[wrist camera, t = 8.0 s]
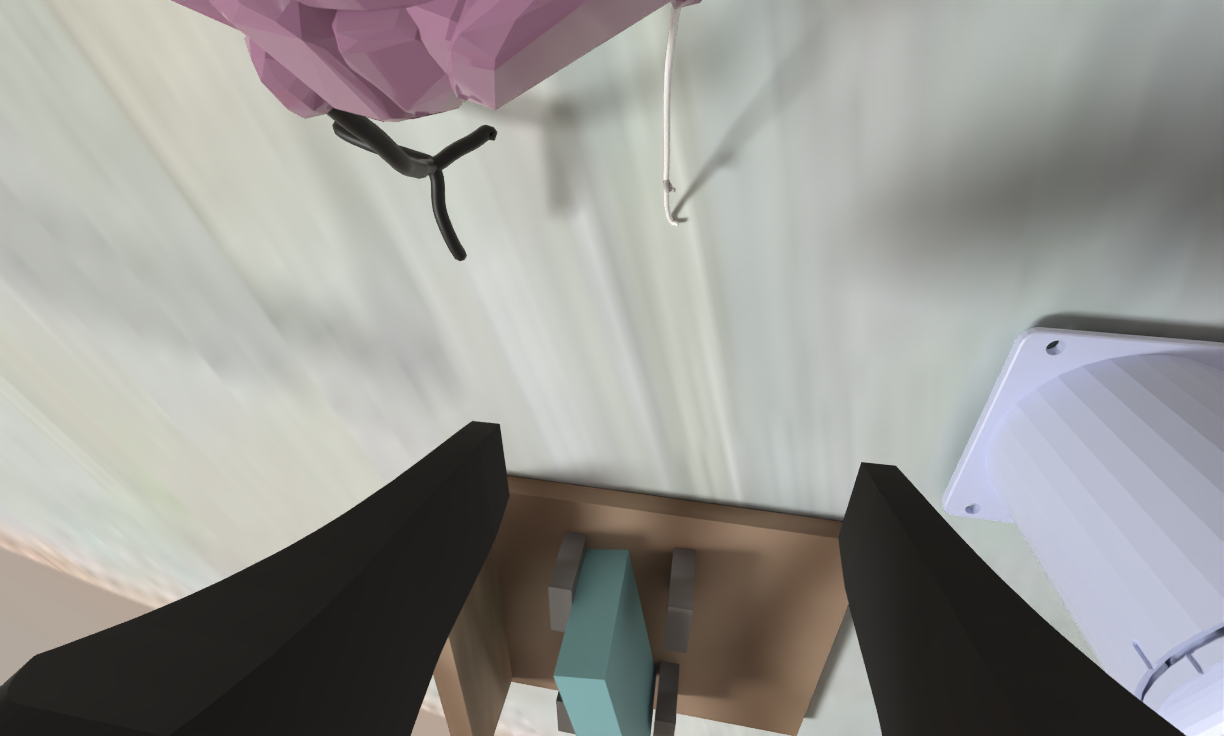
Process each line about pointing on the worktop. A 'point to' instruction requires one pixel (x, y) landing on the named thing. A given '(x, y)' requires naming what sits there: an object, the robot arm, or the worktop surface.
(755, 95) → the worktop surface
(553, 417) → the worktop surface
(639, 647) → the door panel
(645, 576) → the board
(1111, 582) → the robot arm
